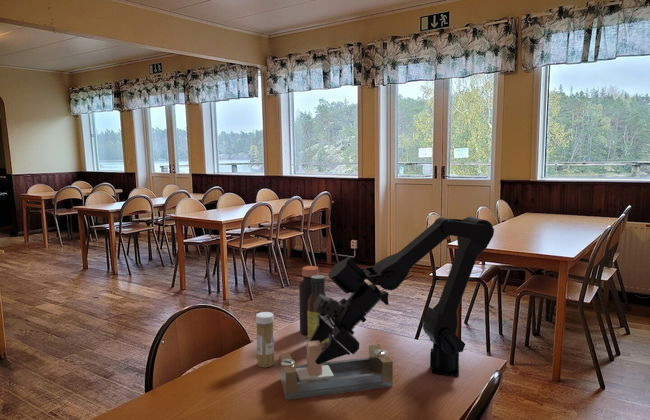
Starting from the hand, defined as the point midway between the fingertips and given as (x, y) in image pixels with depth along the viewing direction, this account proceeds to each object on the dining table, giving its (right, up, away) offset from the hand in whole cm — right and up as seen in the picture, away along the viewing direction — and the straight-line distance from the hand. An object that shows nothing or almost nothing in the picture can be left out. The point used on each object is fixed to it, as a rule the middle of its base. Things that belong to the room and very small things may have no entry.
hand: (312, 354), depth 112 cm
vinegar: (-1, -4, +34) cm, 34 cm away
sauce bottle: (+1, -5, +24) cm, 25 cm away
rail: (+6, -7, +2) cm, 10 cm away
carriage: (0, -6, +1) cm, 6 cm away
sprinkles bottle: (-12, -6, +12) cm, 19 cm away
